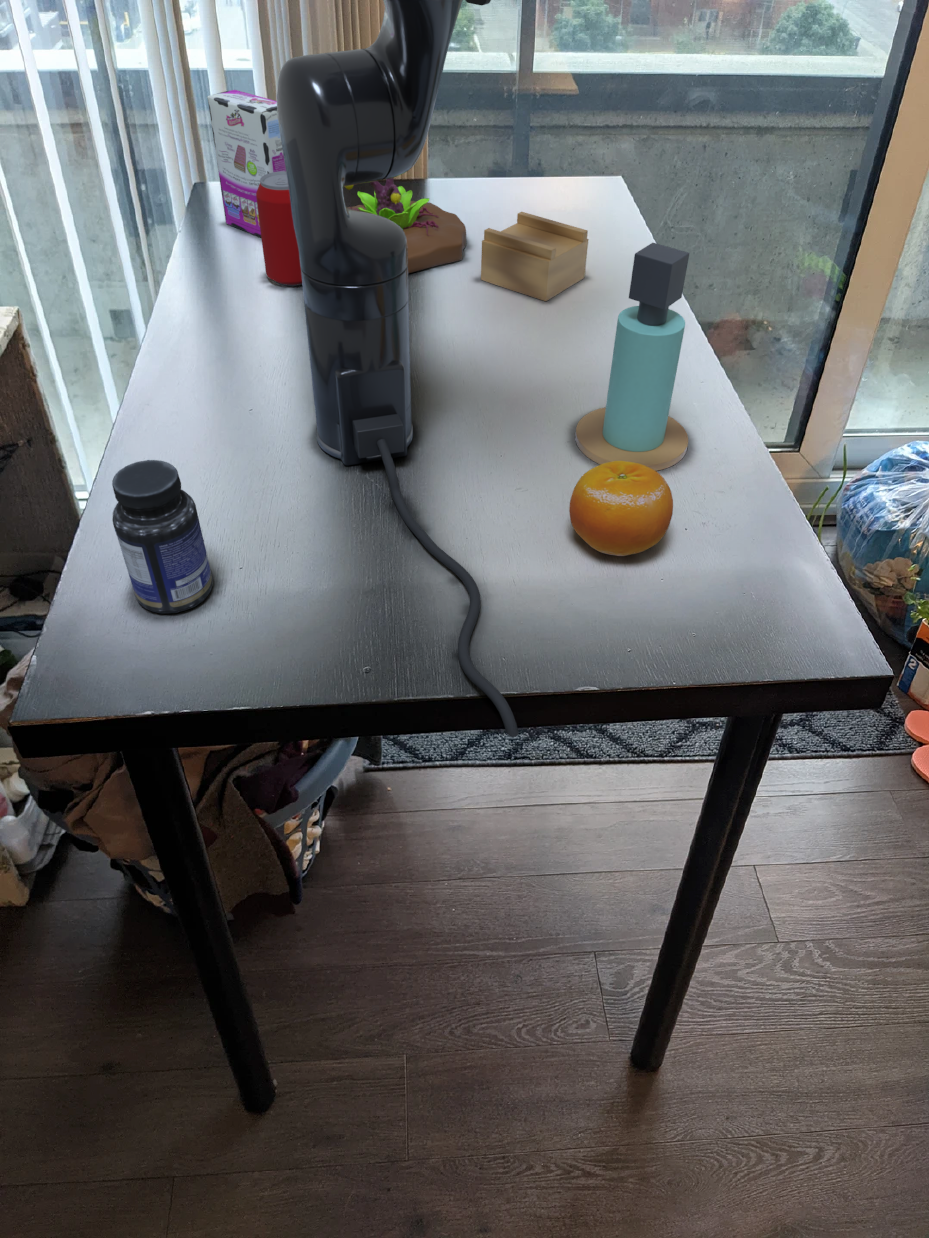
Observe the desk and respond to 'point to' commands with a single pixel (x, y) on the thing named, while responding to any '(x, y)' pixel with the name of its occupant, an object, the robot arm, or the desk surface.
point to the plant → (417, 225)
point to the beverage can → (278, 230)
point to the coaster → (603, 452)
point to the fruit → (621, 507)
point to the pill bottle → (160, 537)
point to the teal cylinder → (646, 351)
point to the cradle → (534, 256)
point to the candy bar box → (244, 152)
